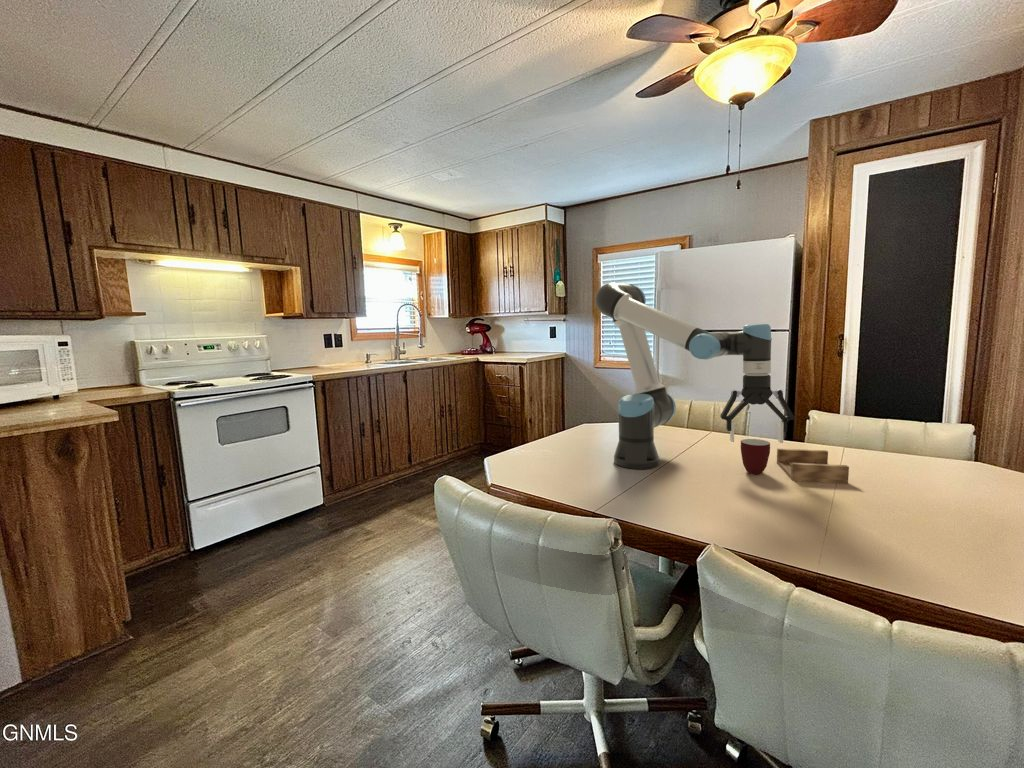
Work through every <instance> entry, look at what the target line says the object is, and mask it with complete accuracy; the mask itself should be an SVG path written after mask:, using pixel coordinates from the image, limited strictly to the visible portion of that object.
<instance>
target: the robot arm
mask: <svg viewBox="0 0 1024 768" xmlns="http://www.w3.org/2000/svg"><path fill="white" fill-rule="evenodd" d="M646 302H647V301H646V295H645V292H644V290H642V289H641V287H639V286H637V285H635V284H632V283H618V282H617V283H616V282H607V283H606V284H604V285H602V286H600V288H599V289H598V290H597V291H596V294H595V297H594V304H595V307H596V308H597V310H598V311H599V312H600V313H601V314H602V315H604V316H605V317H609V318H610V319H612V322H613V325H615V326H617V327H618V328H619V332H620V335H621V339H622V343H623V346H624V351H625V353H626V357H627V361H628V365H629V368H630V372H631V375H632V379H633V382H634V386H635V390H634V392H632V394H627V395H624V396H622V397H621V398H620V399H619V401H618V408H617V412H618V442H617V446H616V449H615V452H614V455H613V462H614V464H615V465H616V464H617V465H616V466H618V465H619V466H618V467H621V468H626V469H629V470H630V469H631V470H648V469H653V468H654V469H655V468H656V467H658V466H659V465H660V456H659V454H658V450H657V447H656V445H655V441H654V438H655V436H654V435H655V434H654V432H655V431H654V430H655V429H656V428H657V427H659V426H664V425H665V424H666V423H668V422H670V421H671V420H672V418H674V416H675V414H676V409H677V408H676V407H677V405H676V402H675V400H674V398H673V396H671V395H670V394H669V393H668V392H667V388H666V386H665V385H664V384H662V383H661V382H660V380H659V376H658V372H657V370H656V366H655V361H654V358H653V355H652V351H651V347H650V343H649V341H648V340H649V339H648V337H647V334H646V332H648V333H650V334H652V335H655V336H657V337H658V338H660V339H663V340H665V341H666V342H669V343H670V344H671V343H672V344H673V345H676V346H678V347H680V348H682V349H684V350H686V351H688V352H690V354H691V356H693V357H694V358H696V359H698V360H710V359H714V358H716V357H717V358H718V357H723V356H742V373H743V376H742V389H741V390H736V389H732V390H731V393H730V397H729V399H728V401H726V404H725V406H724V407H723V410H722V411H721V413H720V414H719V415H720V416H719V417H720V418H721V420H723V421H724V420H725V421H726V422H725V423H726V431H727V432H729V441H730V442H731V443H735V421H734V419H735V418H736V417H737V415H738V414H739V413H741V411H742V410H743V409H744V408H746V407H747V405H749V404H750V405H753V406H754V405H759V406H760V405H764V404H766V405H767V406H768V408H769V409H771V410H772V411H773V413H775V414H776V416H777V417H778V418H779V420H778V421H777V424H778V425H777V426H778V427H777V441H778V442H779V444H784V433H786V432H787V431H788V422H789V421H791V420H792V421H793V420H795V419H796V418H795V416H794V414H793V412H792V410H791V408H790V407H789V405H788V403H787V401H786V400H785V398H784V393H783V390H782V389H779V388H777V389H776V390H775V389H773V390H772V387H771V386H772V382H771V381H772V380H771V378H772V377H771V376H772V375H770V373H772V371H771V370H772V366H771V365H772V363H771V362H772V361H771V360H772V359H771V358H772V357H771V356H772V340H773V338H772V328H771V325H770V324H769V323H754V324H752V323H751V324H745V325H743V327H742V330H740V331H712V332H709V331H707V330H705V329H702V328H700V327H698V326H695V325H693V324H691V323H689V322H687V321H685V320H682V319H679V318H677V317H675V316H673V315H670V314H669V313H665V312H664V311H661V310H659V309H656V308H654V307H652V306H649V305H647V304H646ZM773 395H774V397H775V398H777V400H778V402H779V405H780V406H781V408H782V409H783V411H784V412H785V414H786V415H784V413H783V412H781V410H779V409H778V407H777V406H776V405H775V404H774V403H773V402H772V401H771V400H770V398H771V397H772V396H773ZM740 396H742V397H743V399H742V400H741V401H740V402H739V403H738V404H737V405H736V406H735V408H734V409H733V410H732V411H731V409H732V407H733V405H734V404H735V402H736V399H737V398H740ZM729 412H730V413H729Z"/></svg>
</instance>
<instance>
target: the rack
mask: <svg viewBox="0 0 1024 768" xmlns="http://www.w3.org/2000/svg"><path fill="white" fill-rule="evenodd" d="M828 456H829V451H828V450H824V449H800V448H798V449H797V448H776V464H777V465H778V467H779V468H780V469H781V470H782V471H783V472H784V473H785V474H786V475H787V477H789V479H790V480H792V482H793V481H795V482H796V481H797V482H798V481H799V482H813V483H814V482H815V483H827V484H829V483H831V484H849V474H850V473H849V472H850V466H848V465H847V464H829V462H828V461H829V457H828Z"/></svg>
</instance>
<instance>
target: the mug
mask: <svg viewBox="0 0 1024 768" xmlns="http://www.w3.org/2000/svg"><path fill="white" fill-rule="evenodd" d="M770 452H771V442H770V441H768V440H764V439H759V438H745V439H741V440H740V455H741V462H742V465H743V467H744V468H745V471H746V472H747V473H748V474H750V475H754V476H755V475H756V476H760V475H762V474H763V473H764V471H765V470H766V468H767V466H768V462H769V457H770Z"/></svg>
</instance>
